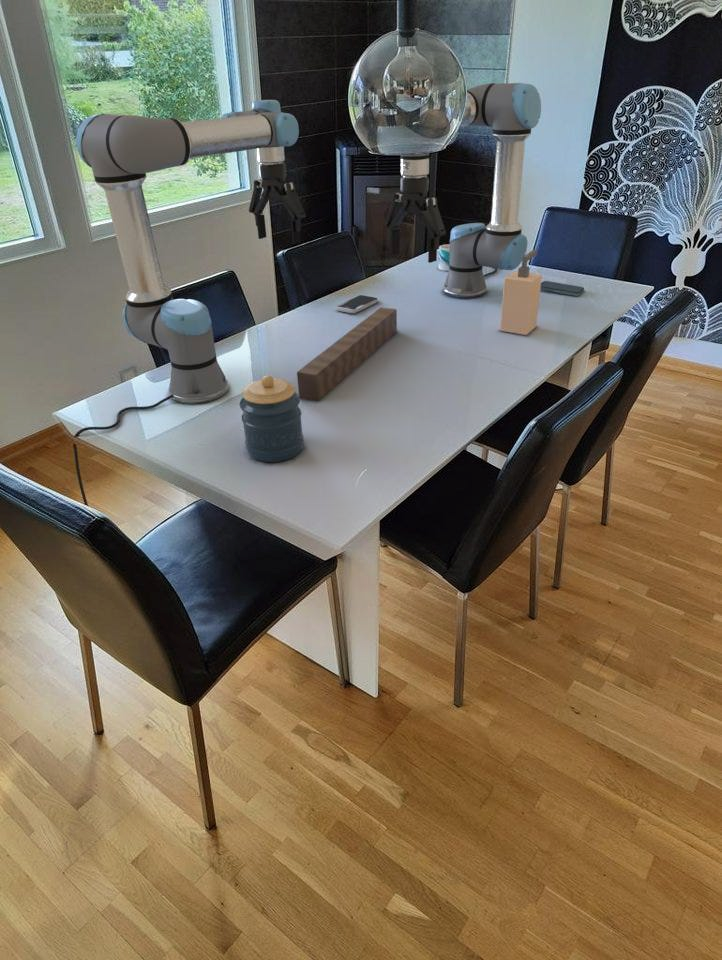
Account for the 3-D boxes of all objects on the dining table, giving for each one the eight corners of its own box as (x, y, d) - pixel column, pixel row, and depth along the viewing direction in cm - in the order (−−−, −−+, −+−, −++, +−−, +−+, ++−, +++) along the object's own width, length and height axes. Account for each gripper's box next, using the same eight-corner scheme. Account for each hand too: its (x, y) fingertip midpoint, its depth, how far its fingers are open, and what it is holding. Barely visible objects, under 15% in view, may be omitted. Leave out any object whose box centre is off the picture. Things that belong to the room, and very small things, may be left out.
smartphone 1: (378, 298, 234) (353, 310, 224) (378, 301, 235) (353, 314, 225) (360, 294, 238) (335, 306, 228) (360, 298, 239) (335, 310, 228)
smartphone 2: (578, 293, 231) (536, 285, 238) (577, 297, 232) (536, 290, 239) (585, 287, 236) (544, 280, 243) (584, 291, 237) (543, 284, 244)
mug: (435, 269, 266) (435, 247, 261) (448, 261, 274) (449, 240, 270) (453, 271, 262) (454, 249, 258) (466, 264, 270) (467, 242, 266)
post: (317, 401, 170) (315, 375, 166) (299, 398, 172) (296, 372, 169) (396, 331, 210) (396, 309, 206) (380, 329, 212) (380, 307, 208)
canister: (251, 467, 144) (240, 393, 134) (242, 439, 155) (232, 368, 145) (310, 457, 147) (303, 383, 137) (297, 430, 157) (291, 360, 148)
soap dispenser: (526, 335, 203) (534, 261, 191) (499, 330, 207) (505, 258, 195) (541, 322, 212) (549, 251, 200) (515, 318, 216) (521, 248, 204)
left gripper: (314, 163, 185) (319, 242, 197) (249, 158, 198) (257, 233, 210) (296, 167, 180) (302, 248, 192) (231, 162, 193) (240, 238, 205)
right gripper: (370, 173, 183) (372, 253, 194) (443, 182, 168) (440, 267, 180) (389, 170, 188) (389, 248, 199) (461, 178, 173) (457, 261, 184)
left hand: (279, 240), depth 201 cm, fingers open, 13 cm apart
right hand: (413, 257), depth 189 cm, fingers open, 13 cm apart
